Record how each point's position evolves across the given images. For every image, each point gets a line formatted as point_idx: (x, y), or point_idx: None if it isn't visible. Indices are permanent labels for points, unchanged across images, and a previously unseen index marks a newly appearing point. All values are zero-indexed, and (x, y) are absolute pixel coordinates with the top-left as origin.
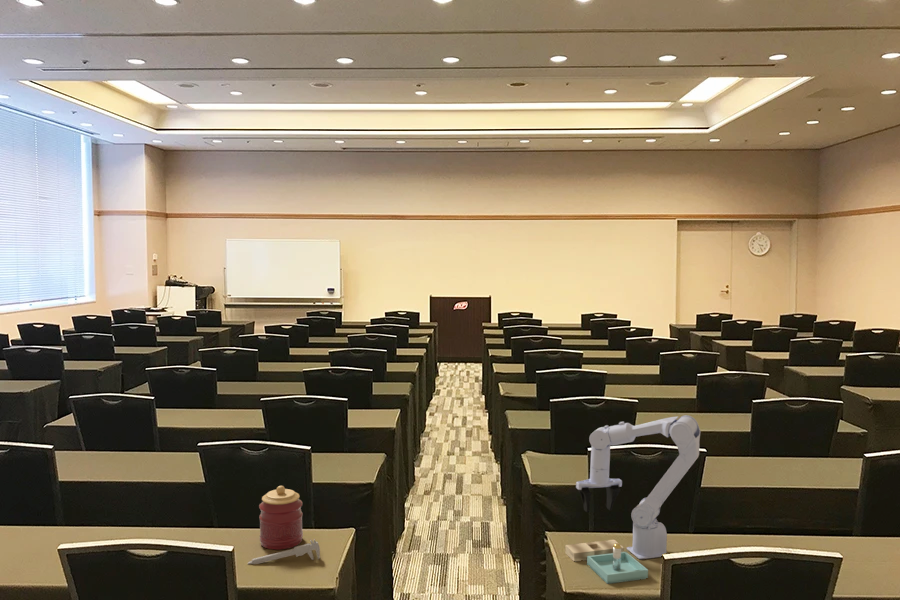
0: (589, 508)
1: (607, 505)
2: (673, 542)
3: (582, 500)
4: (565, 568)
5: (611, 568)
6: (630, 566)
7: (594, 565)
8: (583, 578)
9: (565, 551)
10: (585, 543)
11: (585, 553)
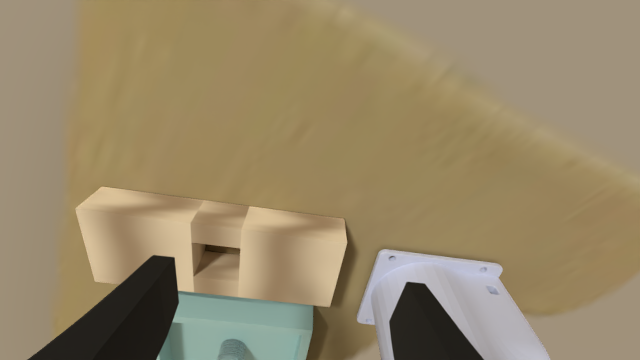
0: (162, 346)
1: (410, 318)
2: (594, 264)
3: (53, 346)
4: (67, 280)
5: (219, 340)
6: (286, 347)
7: None
8: None
9: (96, 192)
10: (186, 229)
11: None
